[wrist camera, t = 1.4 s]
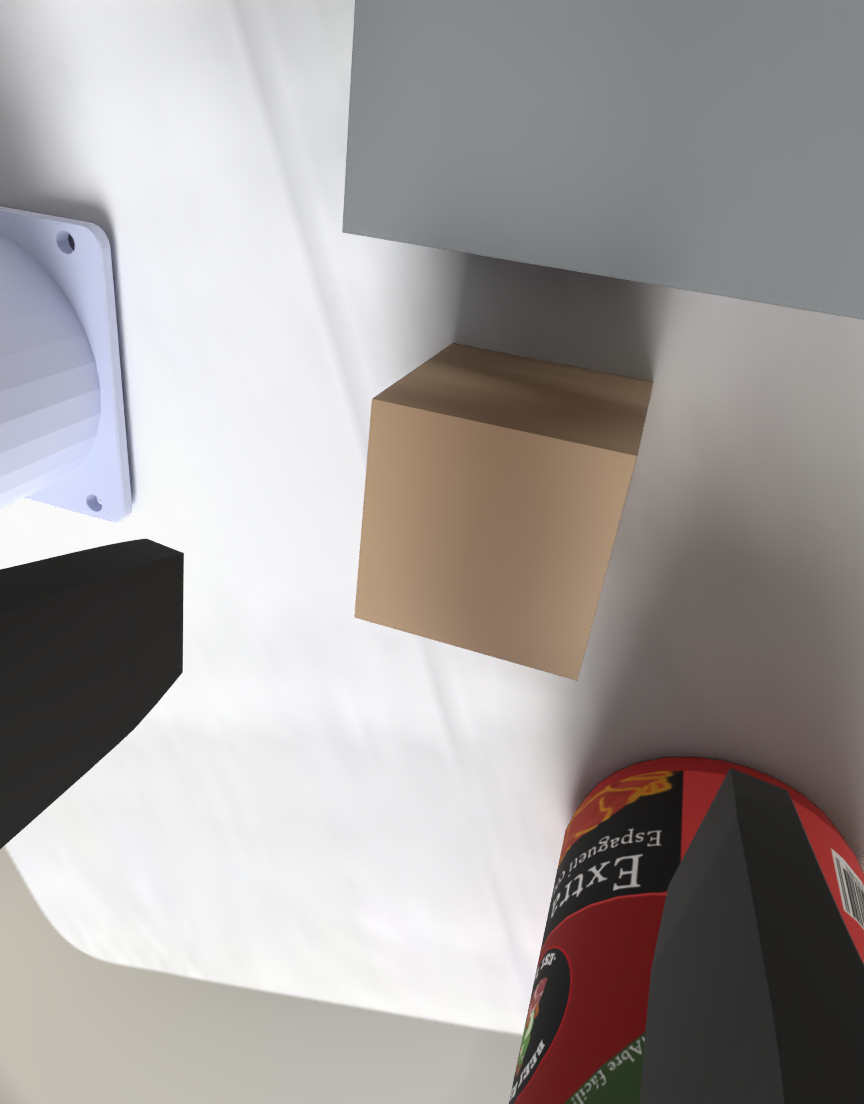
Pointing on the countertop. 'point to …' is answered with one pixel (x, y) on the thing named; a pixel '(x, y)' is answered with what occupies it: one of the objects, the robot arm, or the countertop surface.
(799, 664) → the countertop surface
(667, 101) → the slate base
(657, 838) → the canned food
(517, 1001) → the countertop surface
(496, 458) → the light brown rectangular block
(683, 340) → the countertop surface
